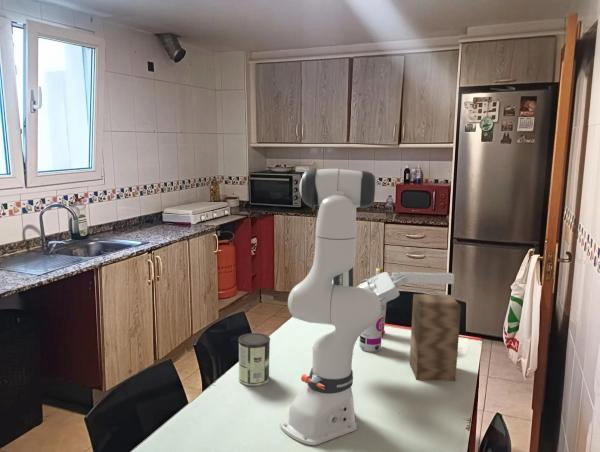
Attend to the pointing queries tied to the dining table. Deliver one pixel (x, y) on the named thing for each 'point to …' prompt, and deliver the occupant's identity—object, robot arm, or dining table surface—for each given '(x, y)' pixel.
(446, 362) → the walnut stand
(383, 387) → the dining table surface
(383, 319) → the liquor
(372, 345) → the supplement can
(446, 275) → the aluminium bar
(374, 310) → the robot arm
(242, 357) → the coffee can
